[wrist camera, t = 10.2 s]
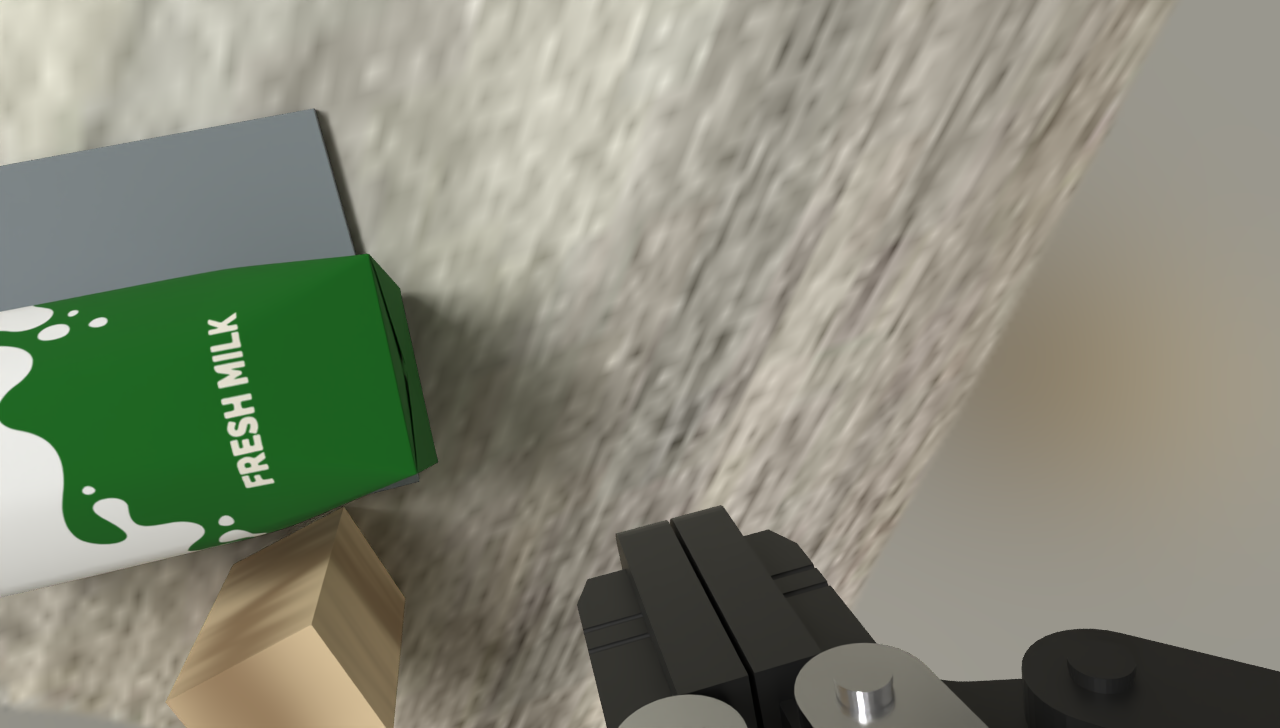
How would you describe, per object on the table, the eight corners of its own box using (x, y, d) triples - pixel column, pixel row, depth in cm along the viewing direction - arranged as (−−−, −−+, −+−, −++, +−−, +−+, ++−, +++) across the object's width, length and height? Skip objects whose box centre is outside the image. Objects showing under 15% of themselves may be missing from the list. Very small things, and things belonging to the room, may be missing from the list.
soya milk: (422, 506, 25) (-353, 692, 22) (447, 483, 34) (-106, 614, 31) (358, 216, 26) (-417, 361, 23) (399, 268, 35) (-153, 377, 32)
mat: (314, 108, 32) (313, 108, 31) (419, 477, 36) (418, 481, 36) (-167, 197, 29) (-175, 198, 29) (8, 580, 34) (3, 585, 33)
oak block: (343, 506, 36) (311, 624, 27) (405, 598, 38) (392, 736, 29) (233, 564, 36) (165, 702, 27) (299, 654, 37) (256, 811, 29)
